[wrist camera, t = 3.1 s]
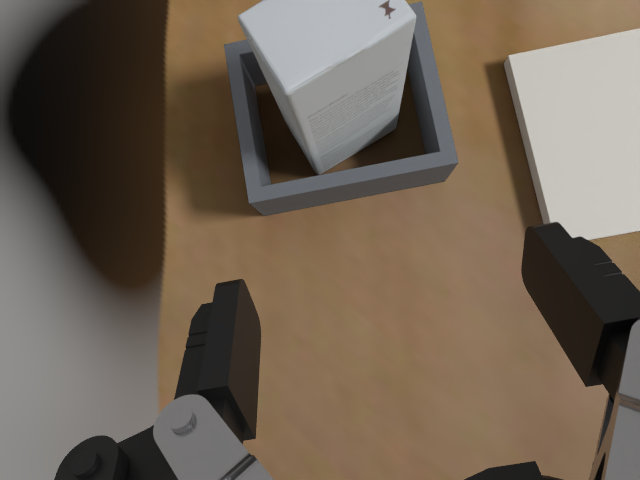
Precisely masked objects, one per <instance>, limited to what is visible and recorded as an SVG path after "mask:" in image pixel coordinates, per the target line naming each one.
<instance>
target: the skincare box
mask: <svg viewBox="0 0 640 480" xmlns="http://www.w3.org/2000/svg"><path fill="white" fill-rule="evenodd" d="M238 20H239V23H240V25H241V27H242V29H243V32H244V34H245V36H246V38H247V40H248V42H249V44H250V47H251V49H252V51H253V53H254V55H255V57H256V59H257V61H258V64H259V66H260V68H261V70H262V72H263V74H264V77H265V79H266V81H267V83H268V85H269V87H270V89H271V92H272V94H273V96H274V98H275V100H276V102H277V105H278V107H279V109H280V111H281V113H282V116H283V118H284V120H285V122H286V124H287V126H288V128H289V129H290V131H291V133H292V134H293V136H294V138H295V139H296V141H297V143H298V145H299V146H300V148H301V150H302V151H303V153H304V155H305V156H306V158H307V160H308V161H309V163H310V164H311V166H312V168H313V169H314V171H315V173H316V174H317V175H321V174H322V173H324V172H326V171H327V170H329V169H331V168H332V167H334V166H336V165H337V164H339V163H341V162H342V161H344V160H346V159H347V158H349V157H350V156H352V155H354V154H355V153H357V152H359V151H360V150H362V149H363V148H365V147H367V146H369V145H370V144H372V143H373V142H375V141H377V140H378V139H380V138H382V137H383V136H385V135H387V134H388V133H390V132H392V131H393V130H395V129H396V127H397V121H398V116H399V111H400V104H401V99H402V94H403V88H404V83H405V77H406V71H407V66H408V60H409V54H410V49H411V44H412V38H413V33H414V28H415V22H416V14H415V13H414V11H413V10H412V9H411V7H410V6H409V5H408V3H407V2H406V1H405V0H263V1H261V2H259V3H258V4H256V5H255V6H253V7H251V8H250V9H248V10H246V11H245V12H243V13H241V14H240V15H239V16H238Z"/></svg>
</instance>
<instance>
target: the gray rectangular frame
mask: <svg viewBox="0 0 640 480" xmlns="http://www.w3.org/2000/svg"><path fill="white" fill-rule="evenodd" d="M408 5H409V6H410V7H411V9H412V10H413V11H414V13H415V14H416V22H415V28H414V33H413V38H412V44H411V49H410V54H409V60H408V66H407V71H408V75H409V80H410V85H411V89H412V94H413V98H414V103H415V108H416V112H417V117H418V122H419V126H420V131H421V135H422V140H423V145H424V149H425V155H420V156H415V157H410V158H405V159H400V160H394V161H389V162H384V163H379V164H374V165H369V166H364V167H359V168H354V169H349V170H343V171H338V172H333V173H328V174H323V175H318V176H313V177H308V178H303V179H298V180H292V181H287V182H282V183H277V184H272V185H271V180H270V174H269V168H268V162H267V156H266V150H265V144H264V137H263V131H262V125H261V119H260V113H259V107H258V101H257V95H256V89H255V86H257V85H262V84H267V81H266V79H265V77H264V74H263V72H262V70H261V68H260V66H259V64H258V61H257V59H256V57H255V55H254V53H253V51H252V49H251V47H250V44H249V42H248V40H243V41H238V42H233V43H229V44H224V48H225V55H226V61H227V67H228V74H229V80H230V86H231V93H232V99H233V105H234V112H235V118H236V124H237V131H238V137H239V143H240V150H241V156H242V162H243V169H244V175H245V181H246V188H247V194H248V200H249V204H250V205H252V206H253V207H254V208H255V209H256V210H257V211H259V212H260V213H261V214H262V215H263V216H267V215H272V214H277V213H283V212H288V211H293V210H298V209H303V208H309V207H314V206H319V205H324V204H329V203H335V202H340V201H345V200H350V199H356V198H361V197H366V196H371V195H376V194H382V193H387V192H392V191H397V190H402V189H408V188H413V187H418V186H423V185H429V184H434V183H439V182H444V181H445V180H446V179H447V178H448V176H449V175H450V174H451V172H452V171H453V169H454V168H455V167H456V165H457V164H458V159H457V154H456V150H455V145H454V141H453V137H452V132H451V128H450V123H449V119H448V114H447V110H446V106H445V101H444V97H443V92H442V88H441V84H440V79H439V75H438V70H437V66H436V61H435V57H434V53H433V48H432V44H431V39H430V35H429V31H428V26H427V22H426V17H425V13H424V8H423V4H422V2H418V3H413V4H408Z"/></svg>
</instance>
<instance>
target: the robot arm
mask: <svg viewBox="0 0 640 480" xmlns="http://www.w3.org/2000/svg"><path fill="white" fill-rule="evenodd" d="M521 270H522V278H523V282H524V285H525V287H526V289H527V291H528V293H529V294H530V296H531V298H532V299H533V301H534V303H535V304H536V306H537V307H538V309H539V311H540V312H541V314H542V316H543V317H544V319H545V321H546V322H547V324H548V325H549V327H550V329H551V330H552V332H553V334H554V335H555V337H556V338H557V340H558V342H559V343H560V345H561V347H562V348H563V350H564V352H565V353H566V355H567V356H568V358H569V360H570V361H571V363H572V365H573V366H574V368H575V370H576V371H577V373H578V374H579V376H580V378H581V379H582V381H583V383H584V384H585V386H586V387H588V386H594V385H601V384H603V385H604V386H605V388H606V390H607V391H608V393H609V395H608V398H607V401H606V406H605V411H604V415H603V420H602V425H601V429H600V434H599V439H598V444H597V448H596V453H595V458H594V462H593V466H592V470H591V473H590V477H589V480H640V291H639V290H638V289H637V288H636V287H635V286H634V285H633V284H632V283H631V281H630V280H629V279H628V278H627V277H626V276H625V275H624V274H623V275H622V271H621V270H620V269H619V268H618V267H617V266H616V265H615V263H612V260H611V259H610V258H609V257H608V256H607V255H606V253H605V252H604V251H603V250H602V249H601V248H600V247H599V246H597V245H596V244H594V243H592V242H590V241H589V240H587V239H585V238H583V237H581V236H580V237H575V238H572V237H571V236H570V235H569V233H568V232H567V231H566V230H565V229H564V227H563V226H562V225H561V224H560V223H558V222H552V223H547V224H541V225H536V226H530V227H528V228H527V229H526V232H525V240H524V249H523V259H522V269H521ZM188 335H189V337H188V339H187V343H186V350H185V353H184V357H183V362H182V366H181V371H180V376H179V380H178V385H177V389H176V394H175V398H174V400H173V401H172V402H170V403H169V404H168V405H167V406H166V407H165V408H164V409H163V410H162V411H161V412H160V414H159V415H158V417H157V419H156V421H155V424H154V425H153V426H152V427H150V428H148V429H146V430H144V431H142V432H140V433H138V434H136V435H134V436H132V437H129V438H127V439H125V440H123V441H121V442H119V443H116V442H115V441H114V440H113V439H112V438H110V437H108V436H95V437H91V438H89V439H87V440H85V441H83V442H81V443H80V444H79V445H77V446H76V447H74V449H72V450H71V451H70V452H69V453H68V454H67V456H66V457H65V458H64V460H63V461H62V463H61V464H60V466H59V468H58V471H57V473H56V477H55V479H54V480H273V478H272V477H271V476H270V475H269V473H268V472H267V471H266V470H265V468H264V467H263V466H262V465H261V463H260V462H259V461H258V460H257V459H256V458H255V457H254V456H253V455H250V453H249V452H248V451H247V450H246V449H245V447H244V446H243V441H244V440H250V439H256V422H257V403H258V384H259V365H260V346H261V327H260V321H259V317H258V314H257V311H256V309H255V306H254V303H253V301H252V298H251V296H250V293H249V291H248V288H247V286H246V283H245V281H244V280H243V279H238V280H233V281H227V282H222V283H217V284H216V287H215V292H214V297H213V302H212V303H207V304H202V305H201V306H200V308H199V309H198V311H197V312H196V314H195V315H194V317H193V318H192V320H191V325H190V330H189V334H188ZM464 480H562V479H559V478H555V477H550V476H544V475H541V473H540V471H539V468H538V466H537V464H536V462H535V461H533V462H526V463H520V464H513V465H507V466H500V467H493V468H488V469H486V470H484V471H482V472H480V473H477V474H475V475H473V476H471V477H469V478H467V479H464Z"/></svg>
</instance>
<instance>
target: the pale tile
mask: <svg viewBox="0 0 640 480" xmlns="http://www.w3.org/2000/svg"><path fill="white" fill-rule="evenodd" d="M504 67H505V71H506V76H507V80H508V84H509V88H510V92H511V96H512V100H513V104H514V108H515V112H516V116H517V120H518V124H519V128H520V132H521V136H522V140H523V144H524V148H525V152H526V156H527V160H528V164H529V168H530V172H531V176H532V180H533V184H534V188H535V192H536V196H537V200H538V204H539V208H540V212H541V216H542V220H543V224H547V223H552V222H558V223H560V224H561V225H562V226H563V227H564V229H565V230H566V231H567V232H568V233H569V235H570V236H571V237H572V238H575V237H580V236H581V237H583V238H585V239H587V240H594V239H600V238H605V237H611V236H616V235H622V234H627V233H633V232H638V231H640V28H639V29H634V30H629V31H625V32H620V33H615V34H610V35H605V36H600V37H596V38H591V39H586V40H581V41H576V42H572V43H567V44H562V45H557V46H552V47H547V48H543V49H538V50H533V51H528V52H523V53H518V54H514V55H509V56H508V57H507V59H506V61H505V62H504Z"/></svg>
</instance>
